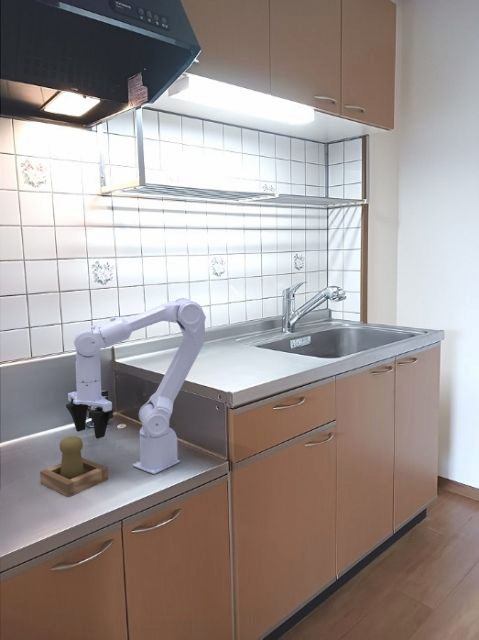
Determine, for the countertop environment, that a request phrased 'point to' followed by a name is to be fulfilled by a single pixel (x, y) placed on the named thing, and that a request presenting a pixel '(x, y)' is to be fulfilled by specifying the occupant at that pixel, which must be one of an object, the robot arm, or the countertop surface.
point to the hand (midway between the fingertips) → (90, 433)
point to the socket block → (77, 484)
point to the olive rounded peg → (71, 457)
